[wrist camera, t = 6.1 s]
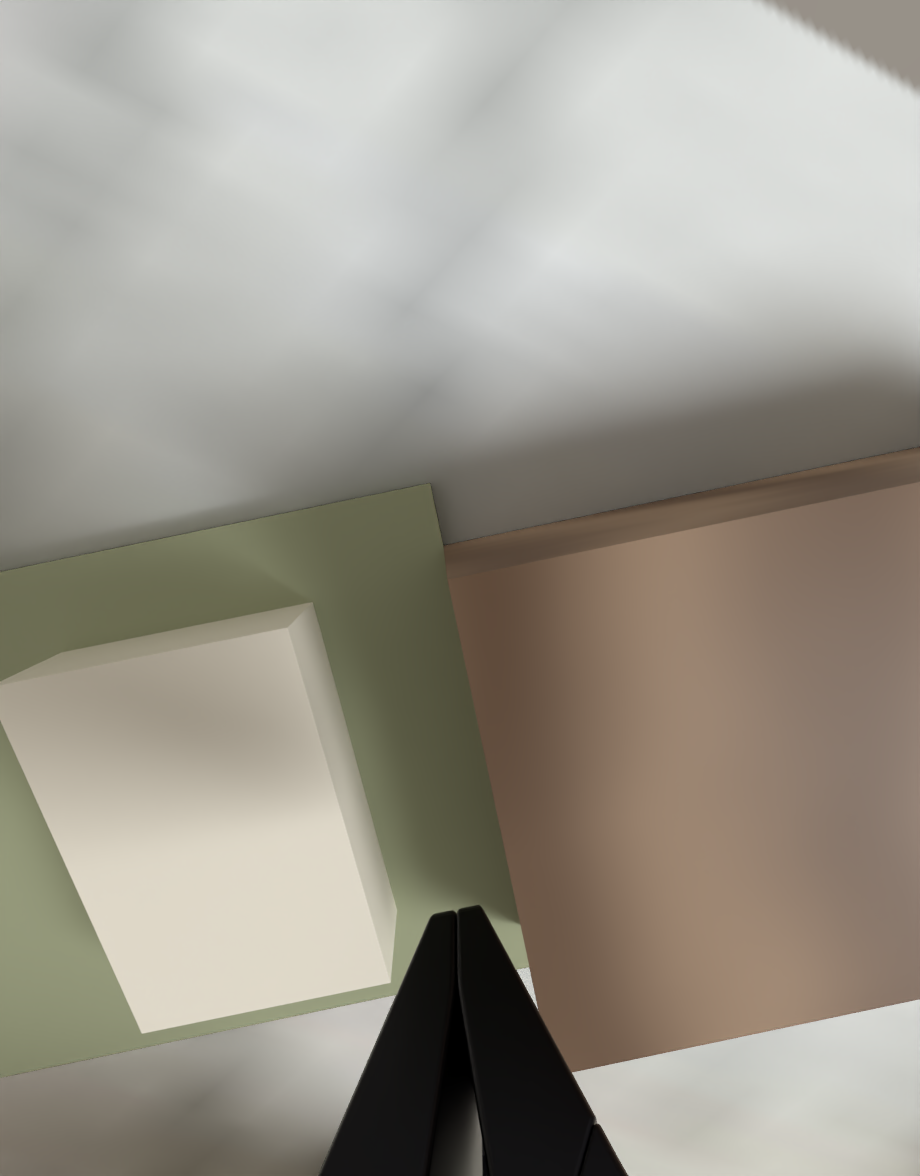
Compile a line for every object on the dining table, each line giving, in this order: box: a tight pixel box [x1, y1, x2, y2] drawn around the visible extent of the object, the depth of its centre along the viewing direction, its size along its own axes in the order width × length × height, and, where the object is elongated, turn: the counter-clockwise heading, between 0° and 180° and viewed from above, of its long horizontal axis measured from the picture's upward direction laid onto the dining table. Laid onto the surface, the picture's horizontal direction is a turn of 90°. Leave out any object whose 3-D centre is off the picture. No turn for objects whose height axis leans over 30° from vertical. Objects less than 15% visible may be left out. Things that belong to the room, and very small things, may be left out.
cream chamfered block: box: [0, 602, 397, 1034], centre depth 12 cm, size 6×9×2 cm, turn 11°
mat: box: [0, 483, 529, 1078], centre depth 13 cm, size 16×14×1 cm
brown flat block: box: [443, 447, 920, 1072], centre depth 11 cm, size 14×11×4 cm
